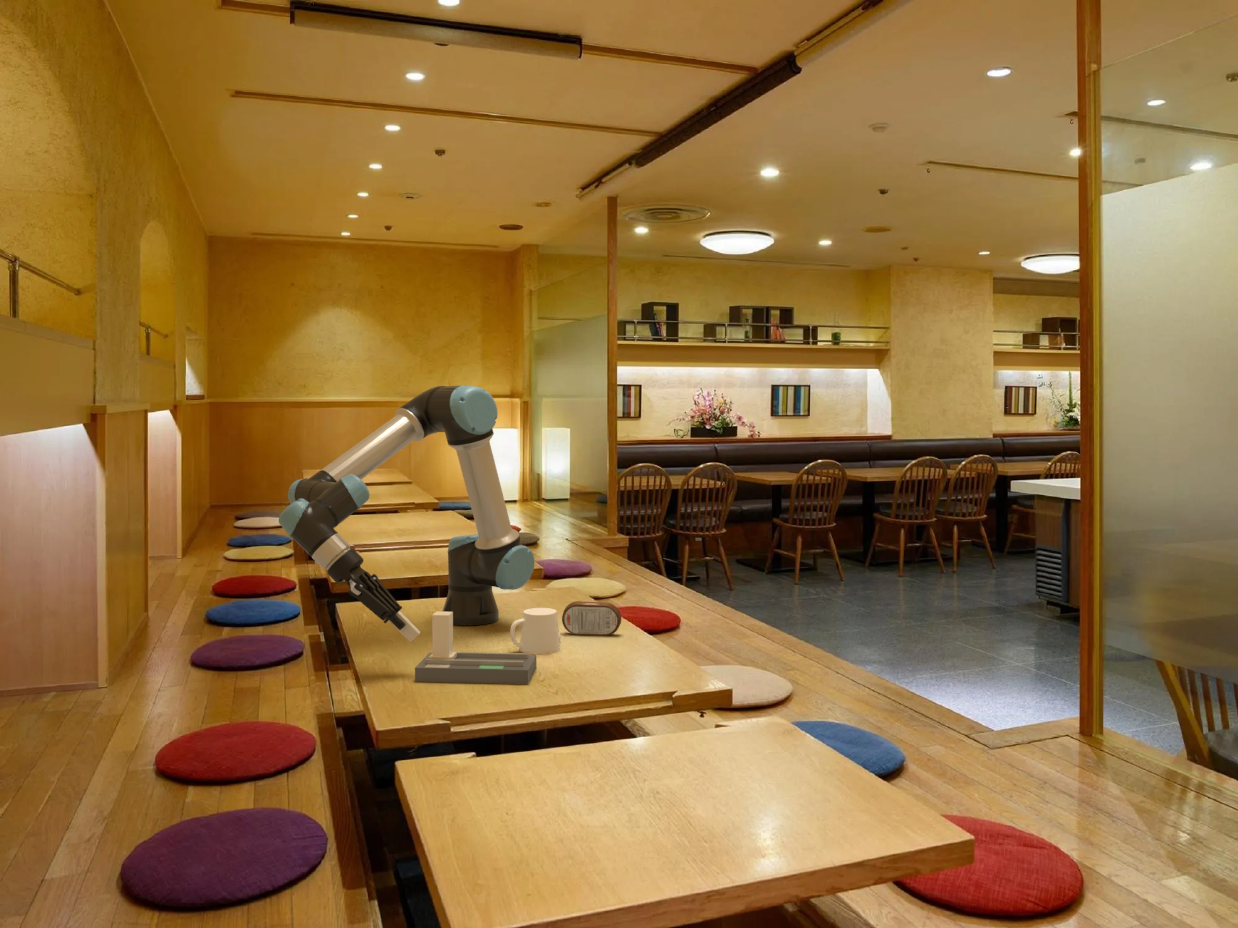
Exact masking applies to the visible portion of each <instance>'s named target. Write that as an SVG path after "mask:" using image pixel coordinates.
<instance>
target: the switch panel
mask: <svg viewBox="0 0 1238 928" xmlns="http://www.w3.org/2000/svg"><path fill="white" fill-rule="evenodd" d="M456 652H457V657H456V658H455V659H429V656H430V655H431V654H432V653H433V651H432V652H429V653H427V655H425V657H423V659H422V660H421V661H420V662H418V664H417V665H416V666H415V667H414V683H416V682H417V683H419V682H420V683H455V684H456V683H457V684H492V685H494V684H499V685H505V684H506V685H510V684H511V685H529V684H530V682H531V679H532V677H533V676H534V674H535V672H536V670H537V654H528V653H522V652H518V653H517V652H482V651H481V652H477V651H474V652H473V651H456ZM529 681H530V682H529ZM528 683H529V684H528Z"/></svg>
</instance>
